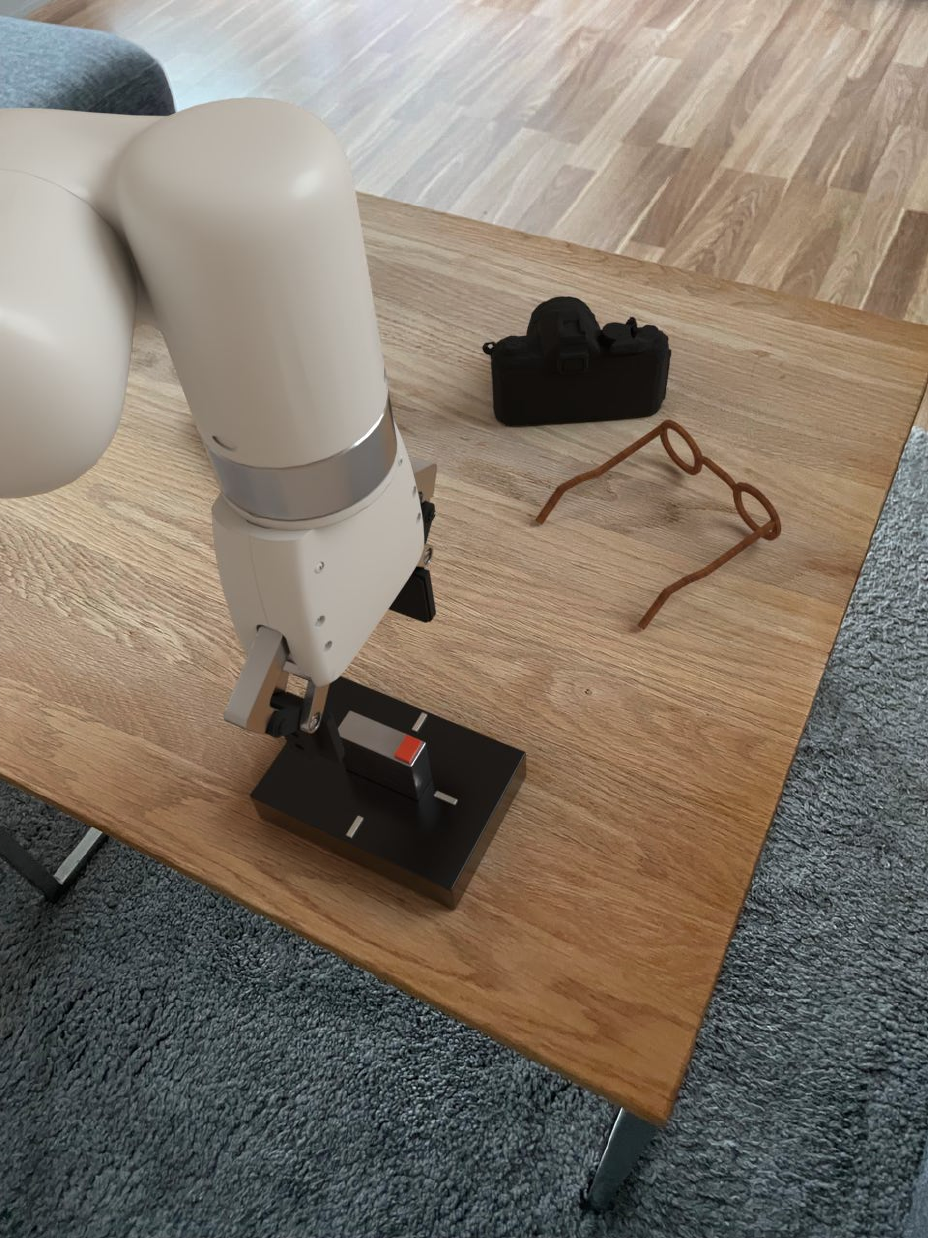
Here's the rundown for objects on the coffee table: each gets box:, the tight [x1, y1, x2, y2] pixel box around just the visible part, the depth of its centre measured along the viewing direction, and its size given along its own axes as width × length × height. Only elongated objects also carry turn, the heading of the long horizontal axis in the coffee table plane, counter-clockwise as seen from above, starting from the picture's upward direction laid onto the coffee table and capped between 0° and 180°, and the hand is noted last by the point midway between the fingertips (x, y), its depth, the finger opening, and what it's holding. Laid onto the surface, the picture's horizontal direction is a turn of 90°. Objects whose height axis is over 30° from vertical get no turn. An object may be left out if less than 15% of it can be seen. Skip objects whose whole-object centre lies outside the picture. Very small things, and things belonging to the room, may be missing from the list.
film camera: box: [481, 295, 672, 427], centre depth 84 cm, size 15×10×9 cm, turn 92°
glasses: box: [534, 419, 782, 631], centre depth 75 cm, size 13×13×5 cm
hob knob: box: [338, 711, 432, 801], centre depth 61 cm, size 5×2×4 cm, turn 63°
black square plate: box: [249, 675, 527, 911], centre depth 64 cm, size 14×10×3 cm
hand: (365, 677), depth 54 cm, fingers open, 9 cm apart
